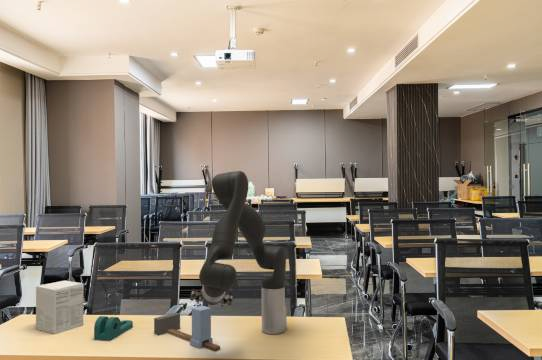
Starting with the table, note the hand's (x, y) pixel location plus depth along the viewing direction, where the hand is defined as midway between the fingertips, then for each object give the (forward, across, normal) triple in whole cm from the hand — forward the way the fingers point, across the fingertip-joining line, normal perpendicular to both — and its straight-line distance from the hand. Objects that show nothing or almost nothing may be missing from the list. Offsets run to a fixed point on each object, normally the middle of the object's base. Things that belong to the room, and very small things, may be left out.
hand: (210, 302), depth 147 cm
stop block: (+26, +14, +7) cm, 31 cm away
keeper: (+10, +1, +13) cm, 17 cm away
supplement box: (+41, +58, +8) cm, 72 cm away
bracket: (+30, +34, +9) cm, 46 cm away
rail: (+14, +4, +11) cm, 19 cm away
